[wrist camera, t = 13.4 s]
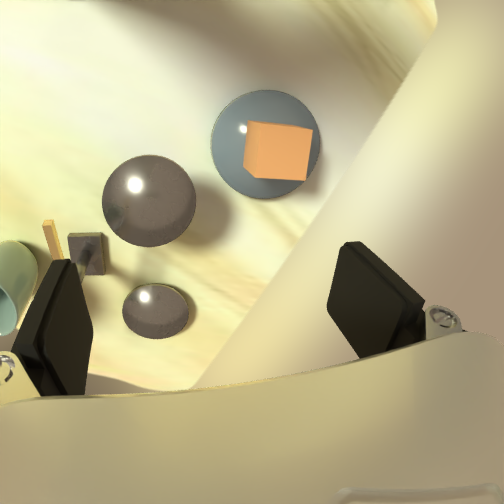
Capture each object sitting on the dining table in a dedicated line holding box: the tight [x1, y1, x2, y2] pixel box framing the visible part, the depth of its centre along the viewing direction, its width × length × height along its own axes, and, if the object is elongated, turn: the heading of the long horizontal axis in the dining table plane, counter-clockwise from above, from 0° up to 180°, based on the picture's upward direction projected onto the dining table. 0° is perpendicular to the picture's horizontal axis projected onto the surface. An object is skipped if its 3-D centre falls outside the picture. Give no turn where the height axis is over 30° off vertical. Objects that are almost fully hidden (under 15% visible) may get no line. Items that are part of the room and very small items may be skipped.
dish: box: [211, 90, 320, 199], centre depth 32 cm, size 12×12×1 cm
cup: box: [0, 240, 38, 336], centre depth 27 cm, size 8×8×10 cm
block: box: [243, 120, 313, 181], centre depth 30 cm, size 5×5×5 cm
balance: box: [42, 155, 196, 341], centre depth 30 cm, size 24×14×11 cm, turn 173°
